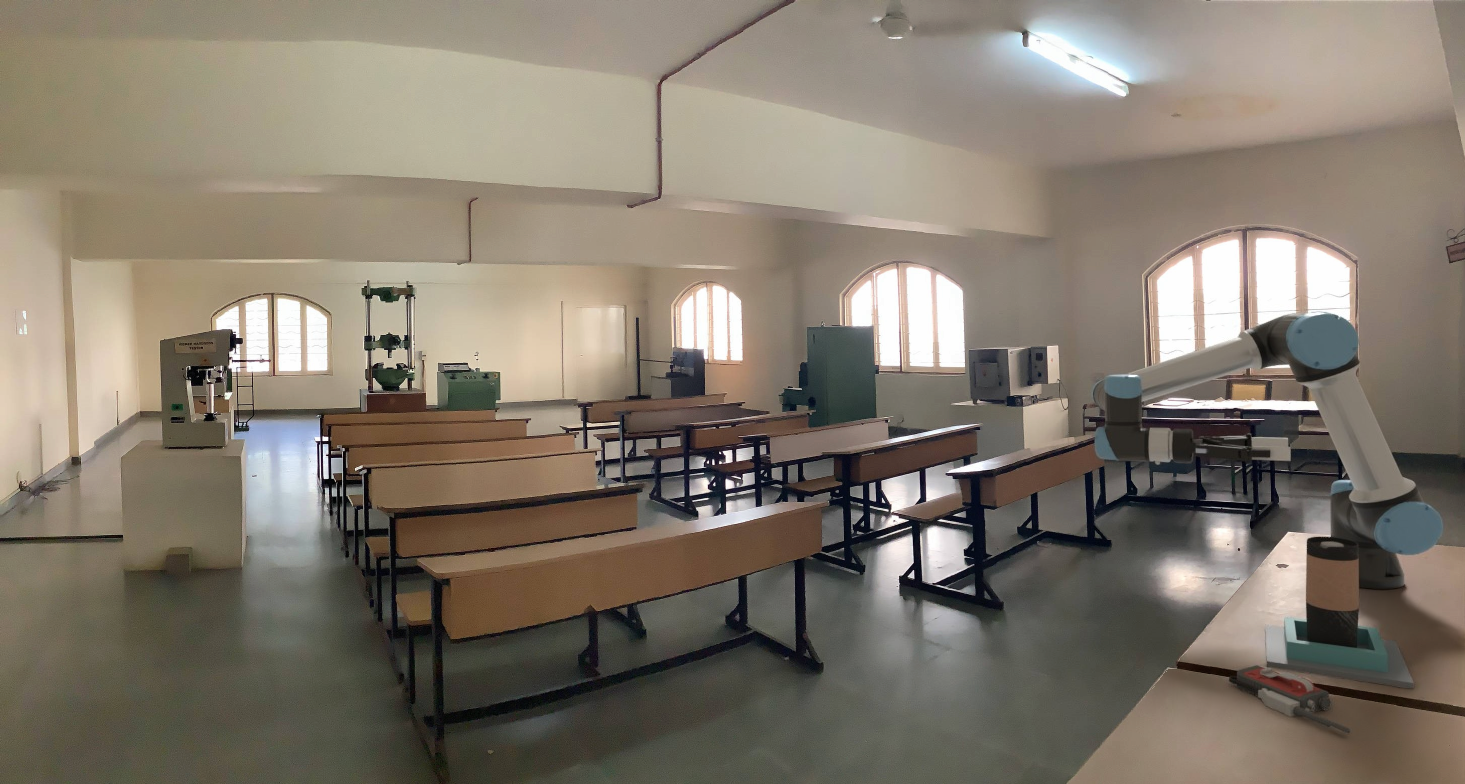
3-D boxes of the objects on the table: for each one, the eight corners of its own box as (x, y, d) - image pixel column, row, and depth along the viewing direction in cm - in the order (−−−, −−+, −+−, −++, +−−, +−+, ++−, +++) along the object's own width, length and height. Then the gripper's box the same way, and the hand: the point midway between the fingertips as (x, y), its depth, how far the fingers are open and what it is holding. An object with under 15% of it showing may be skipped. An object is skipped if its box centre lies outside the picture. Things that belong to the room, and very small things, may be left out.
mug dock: (1265, 629, 160) (1265, 609, 160) (1395, 646, 149) (1395, 625, 149) (1266, 666, 143) (1266, 644, 143) (1413, 688, 132) (1413, 664, 132)
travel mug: (1348, 644, 148) (1349, 536, 147) (1365, 660, 141) (1366, 548, 140) (1299, 641, 151) (1299, 535, 150) (1314, 657, 144) (1314, 546, 142)
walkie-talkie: (1218, 688, 136) (1344, 742, 118) (1218, 663, 136) (1344, 713, 117) (1255, 678, 139) (1384, 729, 121) (1255, 653, 139) (1384, 700, 120)
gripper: (1176, 453, 189) (1287, 457, 178) (1167, 471, 168) (1291, 477, 157) (1176, 421, 189) (1287, 423, 177) (1167, 435, 168) (1291, 438, 156)
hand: (1289, 449), depth 167 cm, fingers open, 13 cm apart
